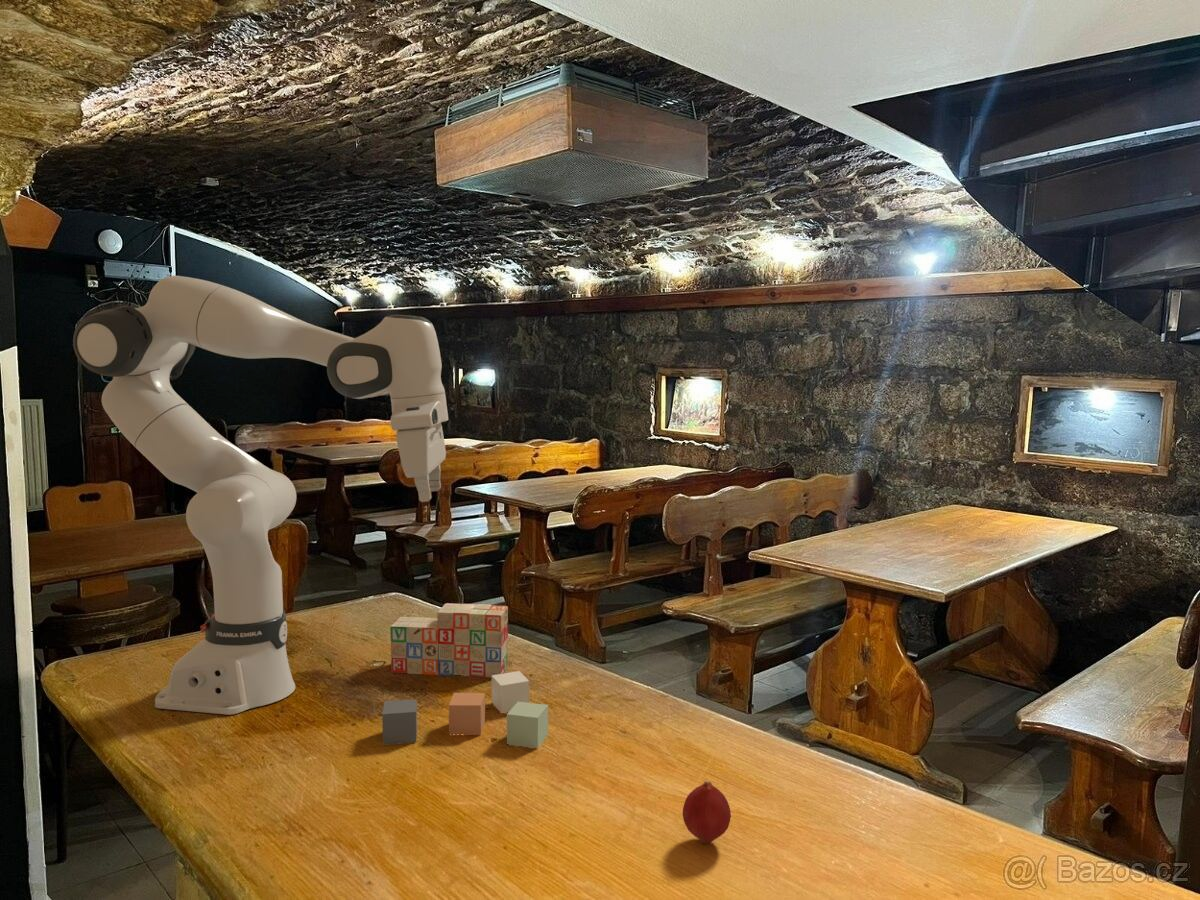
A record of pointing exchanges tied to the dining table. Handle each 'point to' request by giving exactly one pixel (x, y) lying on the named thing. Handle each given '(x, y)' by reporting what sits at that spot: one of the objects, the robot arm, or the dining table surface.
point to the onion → (706, 813)
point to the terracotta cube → (467, 713)
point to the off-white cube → (509, 690)
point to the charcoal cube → (399, 721)
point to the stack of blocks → (452, 642)
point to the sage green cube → (527, 724)
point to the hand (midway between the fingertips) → (430, 495)
